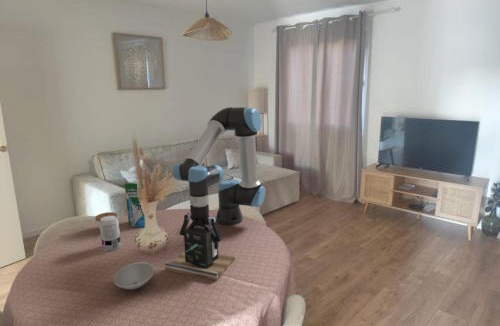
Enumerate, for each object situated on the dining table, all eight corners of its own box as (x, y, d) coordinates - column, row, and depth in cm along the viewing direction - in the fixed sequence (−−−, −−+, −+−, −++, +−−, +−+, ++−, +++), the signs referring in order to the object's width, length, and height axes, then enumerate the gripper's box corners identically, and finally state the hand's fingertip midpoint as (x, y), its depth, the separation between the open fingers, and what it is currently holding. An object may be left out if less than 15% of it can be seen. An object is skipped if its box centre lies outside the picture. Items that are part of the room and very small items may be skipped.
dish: (124, 273, 137) (123, 262, 136) (159, 272, 137) (158, 261, 136) (107, 300, 119) (106, 287, 118) (147, 299, 120) (146, 286, 119)
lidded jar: (103, 224, 186) (102, 209, 184) (121, 225, 184) (120, 209, 182) (92, 232, 175) (90, 216, 173) (111, 233, 174) (109, 217, 172)
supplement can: (98, 250, 157) (95, 220, 153) (111, 242, 164) (108, 214, 161) (112, 253, 154) (108, 222, 150) (124, 245, 161) (121, 216, 158)
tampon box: (218, 258, 142) (217, 226, 139) (205, 268, 134) (203, 235, 131) (199, 252, 148) (197, 221, 144) (184, 261, 140) (182, 229, 137)
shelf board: (188, 250, 155) (187, 243, 155) (235, 259, 147) (235, 252, 146) (165, 269, 139) (164, 262, 138) (216, 280, 130) (216, 273, 130)
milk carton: (151, 220, 190) (147, 178, 185) (144, 227, 182) (140, 183, 176) (136, 220, 191) (132, 178, 186) (128, 226, 183) (124, 183, 177)
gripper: (169, 203, 136) (172, 252, 141) (221, 211, 128) (223, 262, 133) (179, 198, 143) (182, 244, 148) (229, 204, 135) (231, 253, 140)
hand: (201, 252), depth 140 cm, fingers closed on tampon box, 12 cm apart
